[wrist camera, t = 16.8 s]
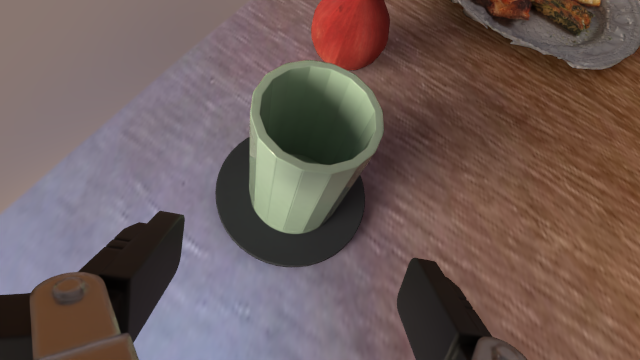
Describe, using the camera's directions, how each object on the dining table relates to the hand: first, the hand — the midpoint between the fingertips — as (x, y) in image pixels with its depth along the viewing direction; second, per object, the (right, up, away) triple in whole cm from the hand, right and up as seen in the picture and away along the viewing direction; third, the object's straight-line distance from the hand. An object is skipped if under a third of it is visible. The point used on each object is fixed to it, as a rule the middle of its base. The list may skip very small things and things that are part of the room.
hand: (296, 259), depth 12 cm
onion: (+2, +12, +17) cm, 21 cm away
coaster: (-1, +2, +11) cm, 11 cm away
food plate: (+24, +24, +27) cm, 44 cm away
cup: (-1, +2, +11) cm, 11 cm away
